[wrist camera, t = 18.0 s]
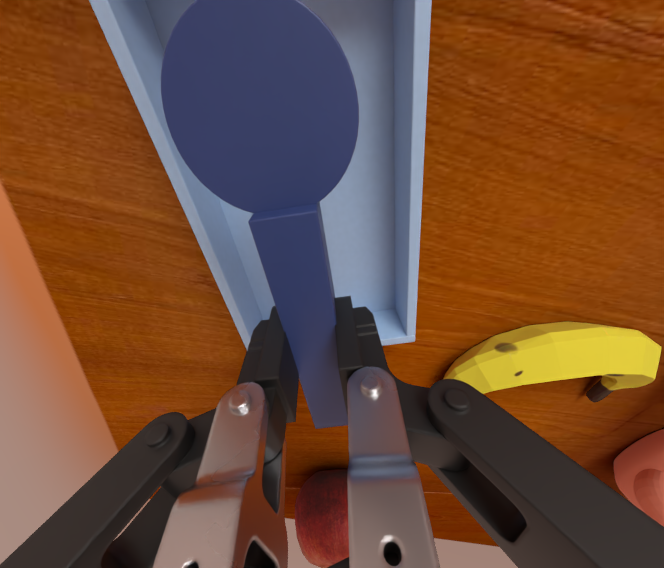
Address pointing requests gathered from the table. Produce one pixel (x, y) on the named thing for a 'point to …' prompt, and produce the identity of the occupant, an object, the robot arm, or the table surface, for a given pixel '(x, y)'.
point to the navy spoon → (271, 153)
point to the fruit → (323, 518)
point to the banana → (560, 358)
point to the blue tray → (356, 184)
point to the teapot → (643, 474)
